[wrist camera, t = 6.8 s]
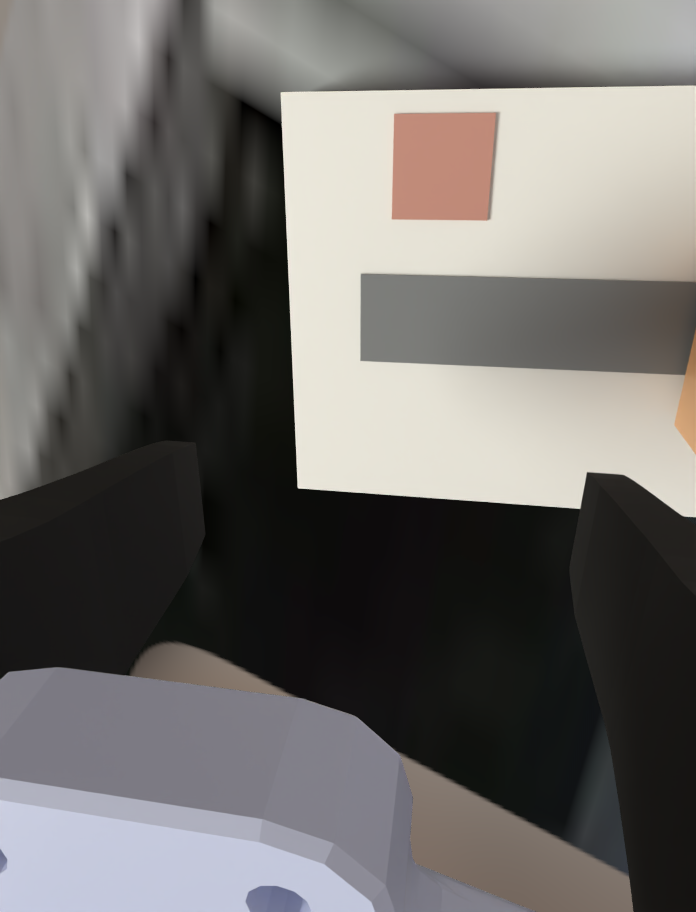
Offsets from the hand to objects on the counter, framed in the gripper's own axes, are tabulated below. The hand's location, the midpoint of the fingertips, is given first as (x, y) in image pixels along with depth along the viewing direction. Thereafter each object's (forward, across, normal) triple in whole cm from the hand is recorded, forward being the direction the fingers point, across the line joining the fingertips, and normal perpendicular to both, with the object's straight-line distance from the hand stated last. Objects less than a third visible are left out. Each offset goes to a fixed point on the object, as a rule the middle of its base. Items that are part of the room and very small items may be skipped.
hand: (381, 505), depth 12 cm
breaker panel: (+9, -4, -2) cm, 10 cm away
